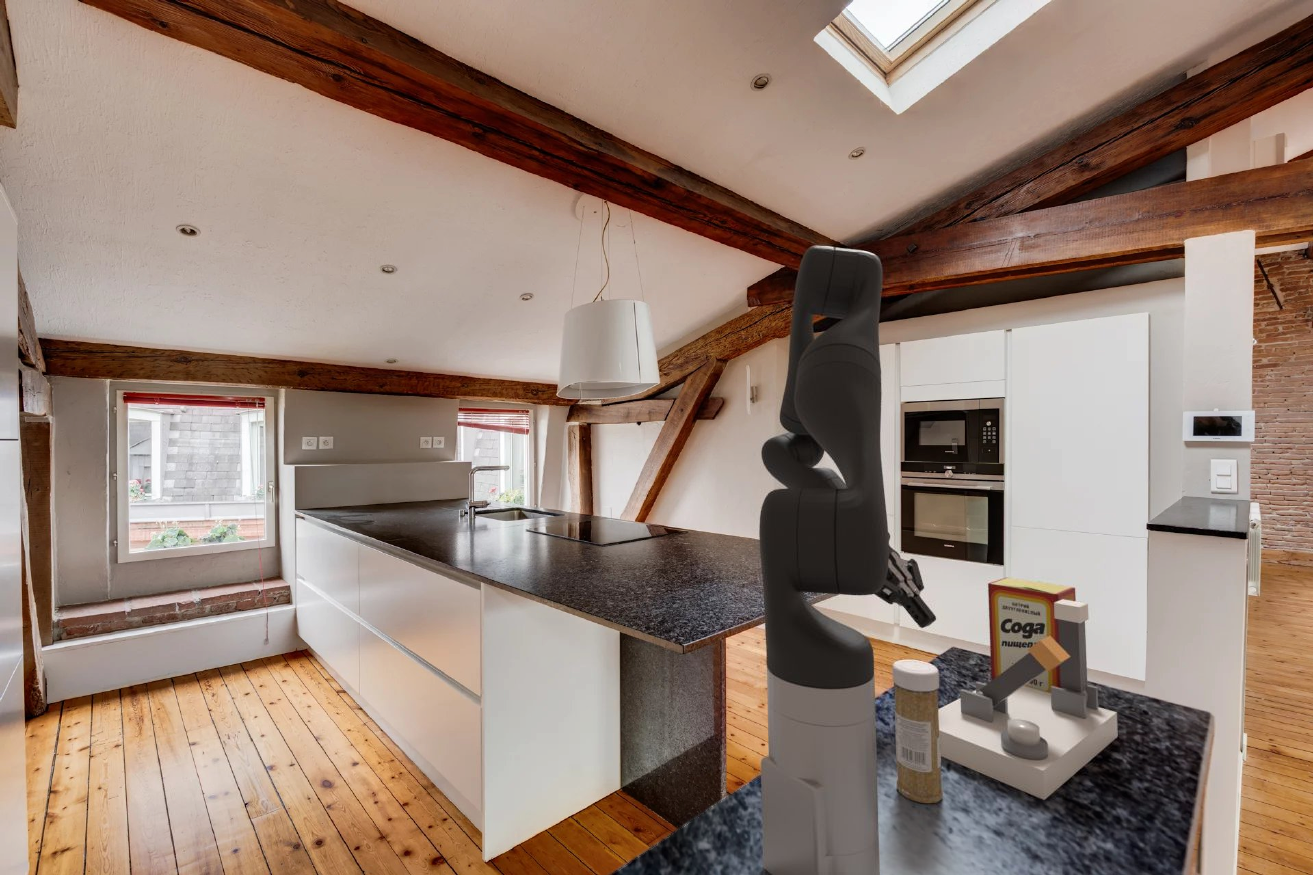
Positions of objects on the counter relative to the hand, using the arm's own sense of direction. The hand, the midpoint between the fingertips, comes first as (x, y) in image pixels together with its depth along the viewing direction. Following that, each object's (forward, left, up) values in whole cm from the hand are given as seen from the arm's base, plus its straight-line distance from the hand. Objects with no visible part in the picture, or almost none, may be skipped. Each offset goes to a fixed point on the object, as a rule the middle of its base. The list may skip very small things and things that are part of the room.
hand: (929, 623), depth 79 cm
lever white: (+10, -13, -9) cm, 19 cm away
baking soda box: (+21, -4, -13) cm, 25 cm away
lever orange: (0, -6, -9) cm, 11 cm away
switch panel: (+2, -10, -13) cm, 16 cm away
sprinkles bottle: (-18, -8, -13) cm, 24 cm away
